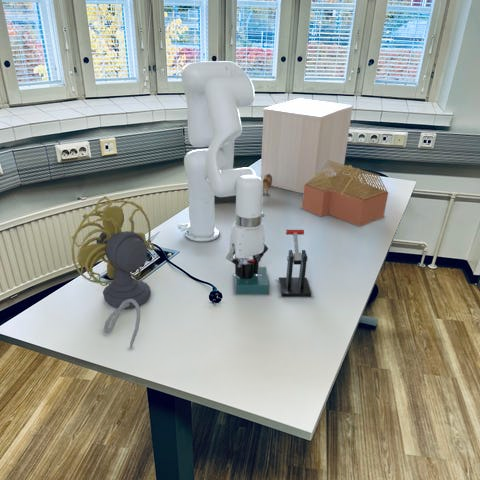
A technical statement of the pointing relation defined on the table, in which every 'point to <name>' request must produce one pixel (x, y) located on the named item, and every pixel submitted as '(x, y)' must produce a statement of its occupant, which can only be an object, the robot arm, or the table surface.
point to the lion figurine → (267, 182)
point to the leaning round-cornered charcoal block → (225, 199)
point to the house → (345, 195)
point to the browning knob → (248, 268)
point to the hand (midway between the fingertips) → (246, 273)
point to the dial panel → (253, 283)
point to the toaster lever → (296, 245)
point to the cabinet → (303, 140)
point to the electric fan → (116, 259)
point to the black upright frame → (295, 279)
